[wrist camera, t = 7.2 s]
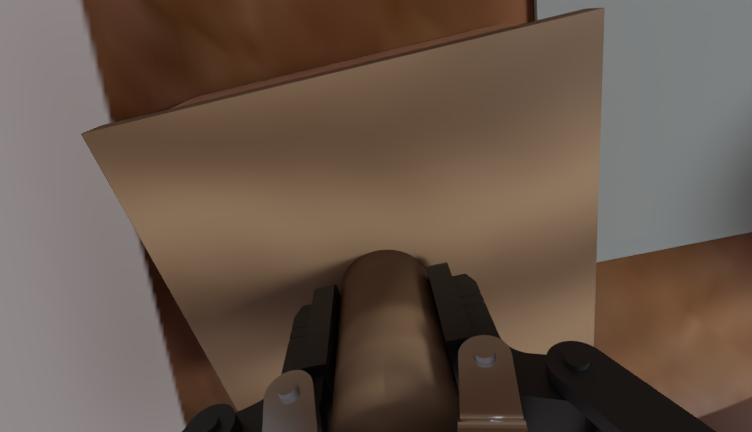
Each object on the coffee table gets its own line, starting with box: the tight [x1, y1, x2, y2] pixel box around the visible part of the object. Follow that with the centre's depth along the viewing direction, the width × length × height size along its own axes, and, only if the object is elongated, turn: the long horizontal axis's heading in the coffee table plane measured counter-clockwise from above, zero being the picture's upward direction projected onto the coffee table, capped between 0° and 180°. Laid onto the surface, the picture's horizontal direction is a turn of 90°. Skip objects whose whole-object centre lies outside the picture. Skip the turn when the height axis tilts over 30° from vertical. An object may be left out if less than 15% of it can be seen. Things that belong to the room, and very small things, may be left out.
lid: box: [81, 8, 605, 432], centre depth 12 cm, size 15×15×7 cm
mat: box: [534, 0, 752, 262], centre depth 19 cm, size 17×17×1 cm
